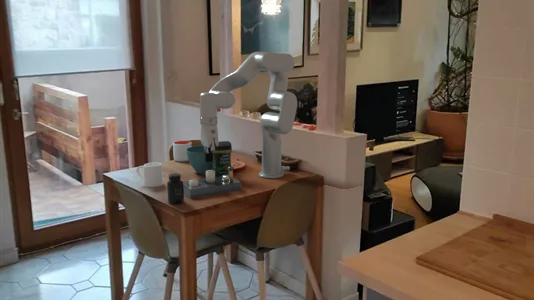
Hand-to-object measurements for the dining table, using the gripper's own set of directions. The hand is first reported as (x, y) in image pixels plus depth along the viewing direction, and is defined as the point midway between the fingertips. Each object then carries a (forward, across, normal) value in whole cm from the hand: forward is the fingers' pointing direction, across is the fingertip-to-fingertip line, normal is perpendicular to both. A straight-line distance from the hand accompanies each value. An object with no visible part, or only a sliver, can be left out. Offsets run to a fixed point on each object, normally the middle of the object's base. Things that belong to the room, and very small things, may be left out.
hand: (209, 161), depth 234 cm
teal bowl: (+13, +30, -10) cm, 35 cm away
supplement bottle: (+14, -8, +18) cm, 24 cm away
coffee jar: (+13, +15, -13) cm, 24 cm away
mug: (+14, +22, +21) cm, 34 cm away
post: (+10, -4, -9) cm, 14 cm away
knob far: (+13, 0, +7) cm, 15 cm away
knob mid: (+10, 0, -1) cm, 10 cm away
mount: (+14, 0, -1) cm, 14 cm away
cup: (+13, +59, -8) cm, 61 cm away
